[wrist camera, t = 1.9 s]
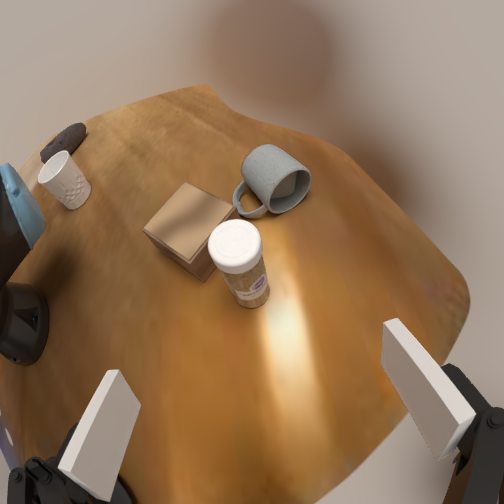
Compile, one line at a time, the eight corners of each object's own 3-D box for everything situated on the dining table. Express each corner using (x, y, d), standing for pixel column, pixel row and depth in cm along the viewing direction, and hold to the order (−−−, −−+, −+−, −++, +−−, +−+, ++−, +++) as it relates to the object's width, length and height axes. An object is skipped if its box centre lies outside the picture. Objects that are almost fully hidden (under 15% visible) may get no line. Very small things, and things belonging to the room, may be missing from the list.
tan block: (159, 250, 39) (140, 228, 34) (197, 206, 42) (185, 180, 36) (204, 282, 36) (189, 263, 31) (243, 231, 39) (236, 205, 33)
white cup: (59, 210, 47) (32, 183, 38) (77, 181, 50) (53, 151, 41) (81, 214, 45) (51, 183, 36) (99, 182, 48) (75, 149, 40)
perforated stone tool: (86, 131, 60) (74, 114, 53) (94, 134, 58) (82, 115, 52) (48, 171, 55) (34, 155, 49) (54, 176, 53) (39, 158, 47)
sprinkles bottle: (259, 314, 33) (243, 274, 21) (227, 299, 35) (196, 252, 23) (276, 283, 35) (270, 228, 23) (245, 269, 36) (224, 210, 24)
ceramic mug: (278, 165, 44) (275, 130, 37) (311, 196, 40) (313, 160, 34) (224, 198, 42) (211, 165, 35) (254, 234, 39) (245, 202, 32)
